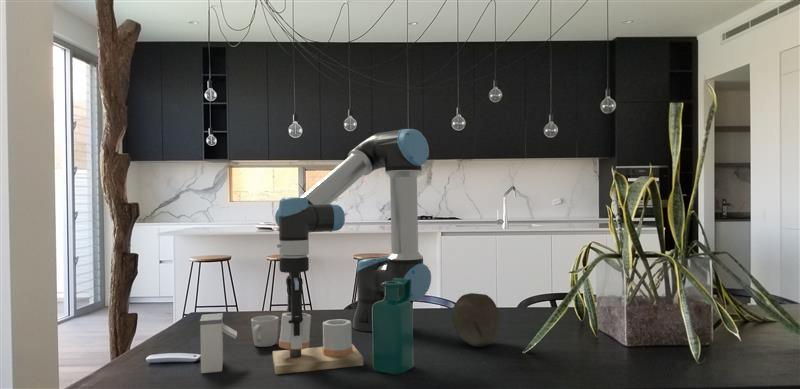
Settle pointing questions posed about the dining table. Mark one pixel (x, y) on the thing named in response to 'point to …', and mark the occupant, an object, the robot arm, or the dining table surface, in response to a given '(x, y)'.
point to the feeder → (213, 341)
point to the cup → (264, 330)
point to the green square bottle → (393, 328)
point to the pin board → (312, 360)
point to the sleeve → (286, 331)
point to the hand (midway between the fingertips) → (294, 343)
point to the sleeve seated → (337, 338)
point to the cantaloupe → (476, 319)
